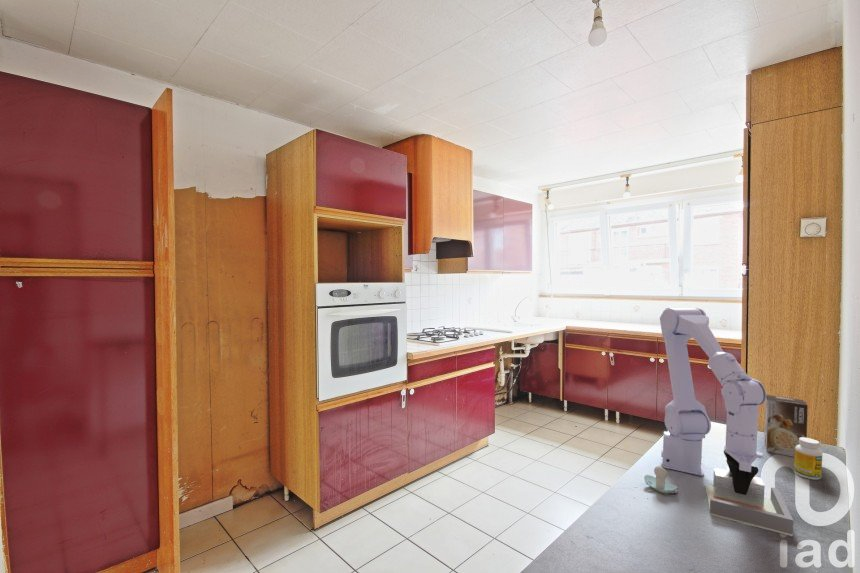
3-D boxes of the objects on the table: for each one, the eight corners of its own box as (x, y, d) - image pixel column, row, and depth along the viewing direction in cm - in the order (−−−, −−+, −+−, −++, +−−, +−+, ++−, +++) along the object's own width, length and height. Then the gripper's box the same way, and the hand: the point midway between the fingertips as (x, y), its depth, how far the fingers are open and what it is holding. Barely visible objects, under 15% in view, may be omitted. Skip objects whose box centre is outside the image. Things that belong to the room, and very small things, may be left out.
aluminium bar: (760, 498, 94) (761, 477, 94) (763, 507, 91) (764, 485, 91) (713, 487, 99) (713, 467, 99) (714, 495, 95) (715, 475, 95)
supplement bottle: (797, 468, 112) (799, 434, 112) (823, 476, 108) (825, 441, 107) (790, 473, 109) (792, 438, 109) (817, 482, 105) (819, 446, 104)
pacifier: (651, 480, 106) (641, 487, 102) (652, 456, 105) (642, 462, 102) (682, 492, 100) (672, 500, 96) (684, 467, 100) (674, 474, 96)
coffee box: (802, 452, 122) (805, 399, 122) (806, 460, 117) (809, 405, 116) (763, 444, 128) (765, 394, 127) (765, 451, 122) (767, 399, 122)
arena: (710, 514, 90) (710, 499, 90) (705, 485, 103) (705, 472, 102) (792, 536, 83) (793, 520, 83) (776, 502, 95) (777, 488, 95)
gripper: (770, 447, 86) (767, 509, 86) (757, 424, 98) (754, 479, 99) (729, 439, 89) (726, 499, 90) (721, 418, 102) (719, 471, 102)
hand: (738, 488), depth 95 cm, fingers closed on aluminium bar, 4 cm apart
